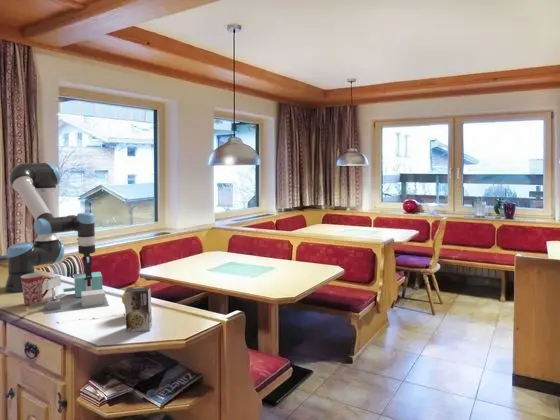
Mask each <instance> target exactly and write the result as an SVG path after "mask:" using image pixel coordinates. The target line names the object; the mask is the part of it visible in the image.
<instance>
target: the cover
mask: <svg viewBox="0 0 560 420" xmlns="http://www.w3.org/2000/svg"><path fill="white" fill-rule="evenodd" d="M87 277H89V276H87ZM84 278H86V273H84V272H83V273H74V274H73V280H74V282H73V283H74V287H68V288H63V290H62V291H63V292H64V293H65V292H66V293H67V292H74V295H75V298H81V292H82V291H86V280H84ZM100 289H103V274H102V272H101V271H93V272H92V290H100Z"/></svg>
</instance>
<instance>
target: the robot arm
mask: <svg viewBox="0 0 560 420" xmlns="http://www.w3.org/2000/svg"><path fill="white" fill-rule="evenodd" d="M60 181H61V174H60V170H59V168H58V167H57V166H56V165H55V164H54V163H49V162H34V163H33V162H22V163H19V164H17V165H16V166H14V167H13V168H12V169H11V171H10V174H9V183H10V185H11V187H12V189H13V191H16V192H17V193H18V194H19V196H20V198H21V200H22V201H23V203H24V204H25V206H26V207H27V209H28V210H29V212H30V214H31V215H32V217H33V219H34V223H33V229H34V231H35V233H36V234H37V237H36V238H35V239H34V243H33V242H32V241H23V242H19V243H15V244H12V245H10V246H9V247H7V254H6V257H7V270H8V276H7V279H6V283H5V288H4V289H5V291H6V292H7V293H23V288H22V281H21V276H23V275H26V274H32V273H36V272H35V267H38V266H39V267H40V266H44V265H49V264H50V265H53V264H56V263H59V262H61V261H62V260H63V258H64V255H65V246H64V243H63V242H62V241H61V240H60V238H59V237H58V236H57V233H59V234H60V233H69V232H77V238H76V241H77V245H78V246H77V248H78V253H79V254H80V255H82V261H83V262H82V264H83V273H86V278H84V280H86V291H91V290H92V273H93V272H92V264H93V263H92V259H93V257H92V255H91V254H95V253H96V245H95V244H96V235H95V234H96V233H95V230H96V229H95V215H94V213H93V212H79V213H77V214H76V215H75V214H70V215H67V216H57V217H56V216H55V201H54V191H55V190H56V189H57V185H59V184H60ZM87 276H89V277H87Z"/></svg>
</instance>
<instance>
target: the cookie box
mask: <svg viewBox="0 0 560 420" xmlns="http://www.w3.org/2000/svg"><path fill="white" fill-rule="evenodd" d="M151 288H152V287H151V286H128V287H127V288H126V289H125V290H124V294H125V306H124V309H125V332H126V333H131V332H147V331H148V332H149V331H150V330H151V329H152V326H153V320H152V319H153V317H152V293H151V291H152V289H151Z"/></svg>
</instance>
